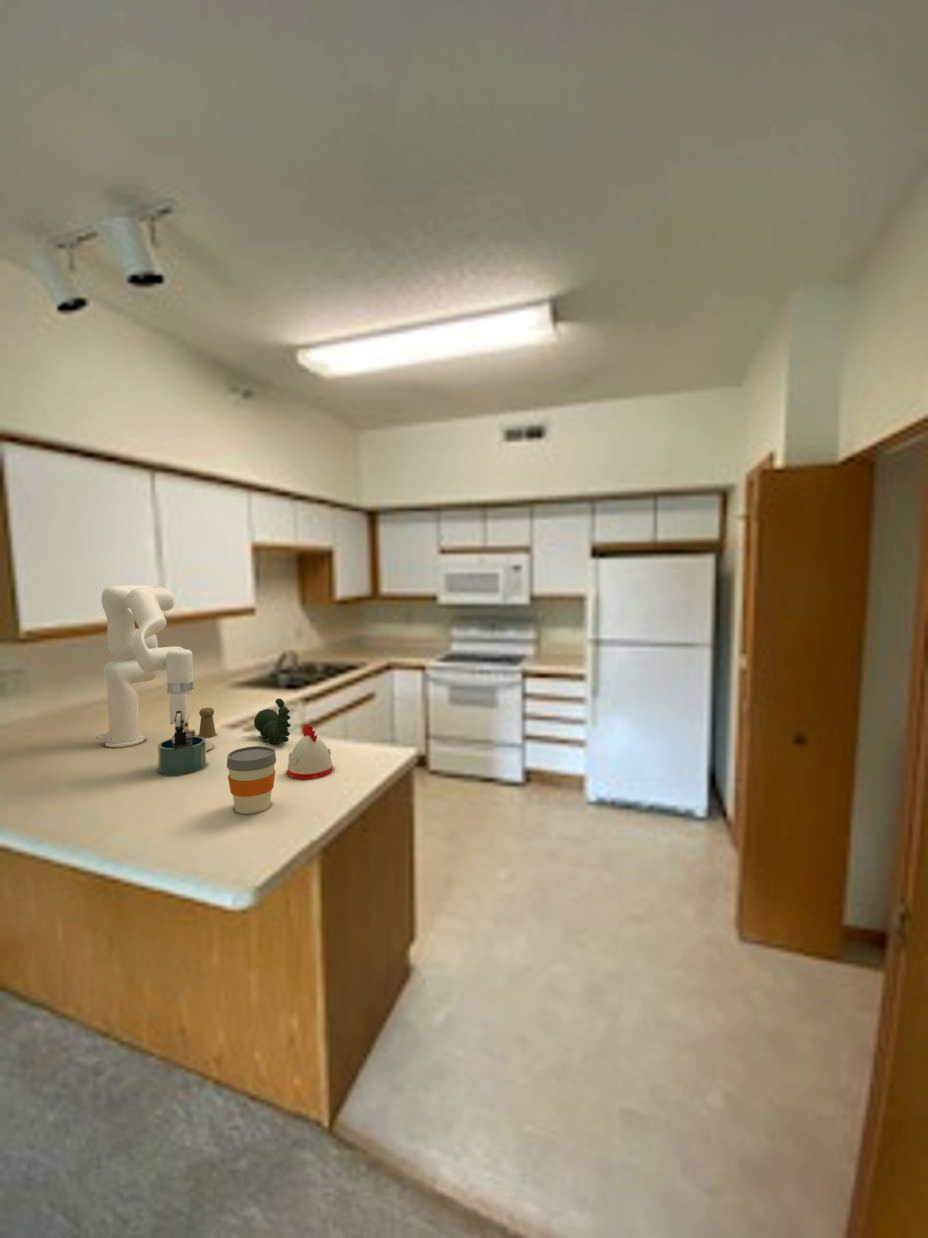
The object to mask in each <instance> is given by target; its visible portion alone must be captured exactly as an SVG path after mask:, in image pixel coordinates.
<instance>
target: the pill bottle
mask: <svg viewBox="0 0 928 1238" xmlns="http://www.w3.org/2000/svg"><path fill="white" fill-rule="evenodd" d="M182 728H183V727H182ZM189 730H190V727H189V728H188V727H185V732H186V744H185V745H175V734H174V735H172V736H171V739H172V748H184V747H190V746H193V742H192V734H191V733H189Z"/></svg>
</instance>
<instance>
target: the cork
mask: <svg viewBox="0 0 928 1238" xmlns="http://www.w3.org/2000/svg"><path fill="white" fill-rule="evenodd" d="M198 712H199V716H200V721H199V722H200V723H199V732H198V737H203V738H205V739H207V738H213V737H215V736H216V735H217V734H216V733H217V732H216V728H215V723H214V722H215V721H214V714H215V710H214V708H213V707H202V708H201V709H199V711H198Z"/></svg>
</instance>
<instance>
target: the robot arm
mask: <svg viewBox="0 0 928 1238" xmlns="http://www.w3.org/2000/svg"><path fill="white" fill-rule="evenodd" d="M175 603H176V601H175V596H174V594H173V592H172V591H171V590H170V589H169V588H167V587H165V586H158V585H153V584H118V585H117V584H116V585H110V586H107V587H105V588H104V589H103V590H102V592H101V605H102V609H103V611H104V614H105V616H106V617H105V618H106V627H107V628H106V629H107V649H108V652H109V653H110V654H111V655H112V656H116V657H125V656H134V657H129V658H119V659H114V660H112V661H109V662H107V663H106V664H105V665H104V666H103V677H104V681H105V687H106V690H107V692H106V693H107V710H108V731H107V732H106V733H96V734H95V739H96V740H98V741H102V740H105V741H104V746H105V747H108V748H124V747H125V748H126V747H131V746H135V745H139V744H141V743H143V742H145V739H146V738H145V736H144V735H142V734H141V733H140V708H139V694H138V692H137V691H136V690H135V689H134V688H133V686H132V684H138V683H139V684H140V683H144V682H150V681H154V680H155V679H156V678H157V676H158V674H159V671H166V693H167V694H169V695H170V696H169V697H170V698H169V724H170V725H171V726H173V725H174V735H175V745H185V744H186V732H185V727H188V728H189V729H190V726H189V719H190V717H191V693H192V692H194V662H193V660H194V659H193V658H194V656H193V651H192V650H190V649H188V648H184V647H182V646H176V645H175V646H163V647H159V642H158V637H157V634H159V633H160V632H161V631H163V630H164V629H165V628H166V626H167V619H166V617H165V614H164V613H163V612H166V611H167V612H168V611H171V610H172V609H173V608H174V606H175ZM135 622H136V625H137V627H138V628H137V629H136V625H135ZM182 727H183V728H182Z"/></svg>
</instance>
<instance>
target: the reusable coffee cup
mask: <svg viewBox="0 0 928 1238" xmlns="http://www.w3.org/2000/svg"><path fill="white" fill-rule="evenodd" d="M276 755H277V754H276V750H275V749H274V748H273V747H270V746H266V745H265V746H263V745H253V746H245V747H241V748H237V749H235V750H232V751H230V752H229V753H228V754H227V757H226V768H227V769H228V775H227V780H228V785H229V791H230V794H231V795H232V799H233V804H234V810H235V812H236V813H239V814H243V815H244V814H245V815H247V814H248V815H249V814H250V815H251V814H255V813H260V812H263V811H265V810H267V809H268V808H270V806H271V798H272V791H273V789H274V786H275V778H276V768H275V766H276V765H275V764H276V763H277V756H276Z"/></svg>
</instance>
